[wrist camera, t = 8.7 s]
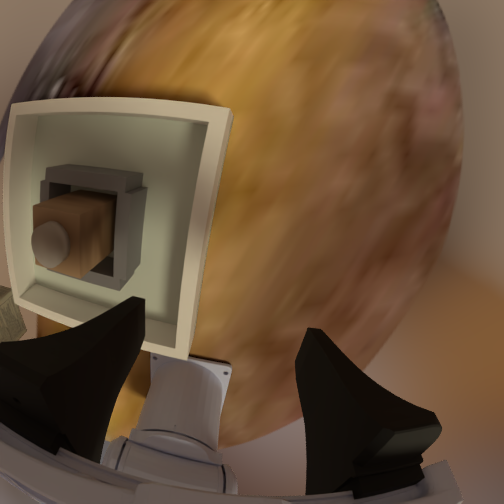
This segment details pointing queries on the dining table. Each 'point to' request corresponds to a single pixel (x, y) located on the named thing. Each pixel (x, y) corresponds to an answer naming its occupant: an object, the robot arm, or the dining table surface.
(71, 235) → the peg
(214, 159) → the cream square tray
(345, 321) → the dining table surface
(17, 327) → the skincare box
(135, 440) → the robot arm
